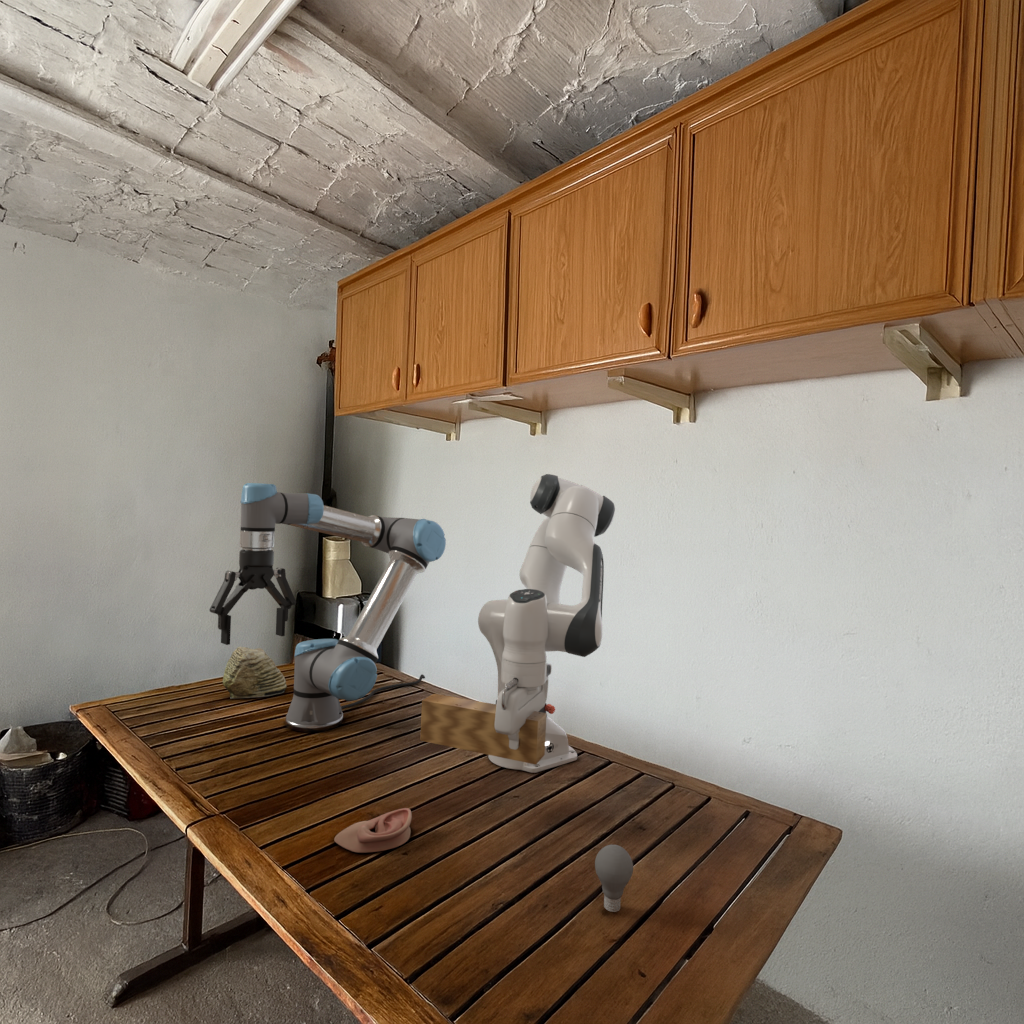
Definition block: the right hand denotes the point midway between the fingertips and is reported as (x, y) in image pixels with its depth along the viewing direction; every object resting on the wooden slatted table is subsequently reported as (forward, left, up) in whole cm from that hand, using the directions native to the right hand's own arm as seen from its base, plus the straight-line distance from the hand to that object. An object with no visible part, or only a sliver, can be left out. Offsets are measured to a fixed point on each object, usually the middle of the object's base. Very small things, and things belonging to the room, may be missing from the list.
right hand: (520, 742), depth 125 cm
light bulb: (-2, +29, -17) cm, 34 cm away
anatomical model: (+27, -6, -17) cm, 32 cm away
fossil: (+39, -102, -17) cm, 110 cm away
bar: (+6, -6, -3) cm, 9 cm away
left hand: (+45, -50, +12) cm, 68 cm away
